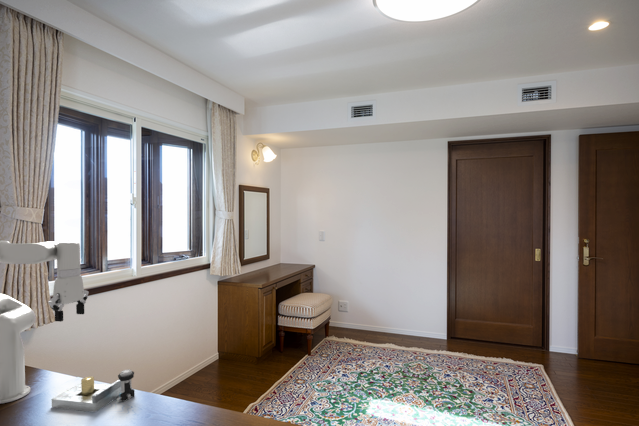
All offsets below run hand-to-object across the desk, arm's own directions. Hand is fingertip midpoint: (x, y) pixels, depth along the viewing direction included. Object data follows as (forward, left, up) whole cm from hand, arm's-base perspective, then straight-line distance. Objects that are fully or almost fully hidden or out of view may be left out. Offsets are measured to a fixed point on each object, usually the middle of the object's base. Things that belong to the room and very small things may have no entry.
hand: (70, 317), depth 146 cm
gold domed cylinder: (+13, -6, -28) cm, 32 cm away
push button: (+26, -3, -28) cm, 39 cm away
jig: (+13, -6, -28) cm, 32 cm away
